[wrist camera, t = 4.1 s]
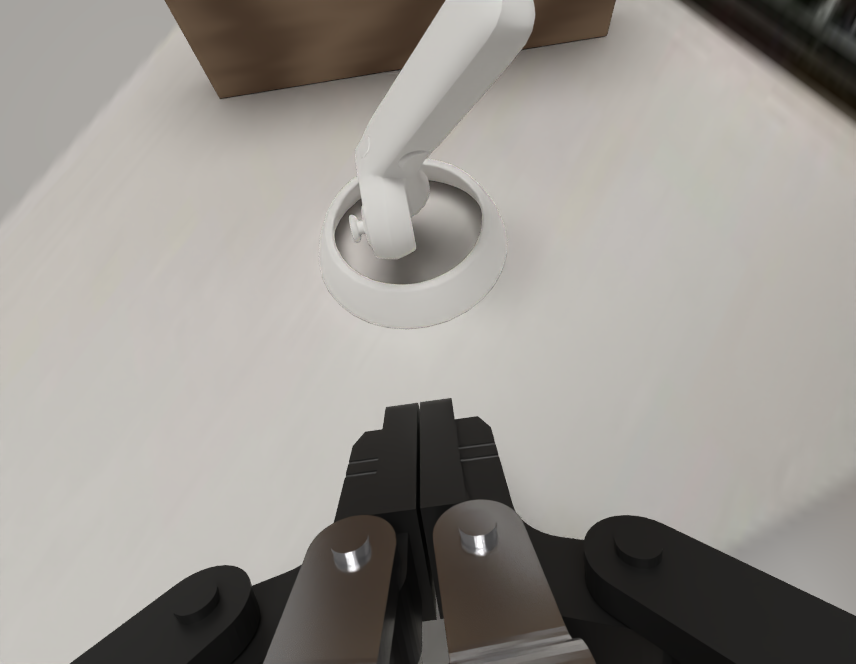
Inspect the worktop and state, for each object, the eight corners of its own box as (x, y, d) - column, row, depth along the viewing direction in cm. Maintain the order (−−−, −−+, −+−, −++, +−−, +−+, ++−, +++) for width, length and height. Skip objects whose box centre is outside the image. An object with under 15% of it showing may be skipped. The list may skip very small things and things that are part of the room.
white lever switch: (729, 214, 12) (538, 167, 8) (459, 345, 21) (314, 352, 18) (642, -12, 14) (451, -140, 10) (429, 202, 23) (291, 181, 19)
